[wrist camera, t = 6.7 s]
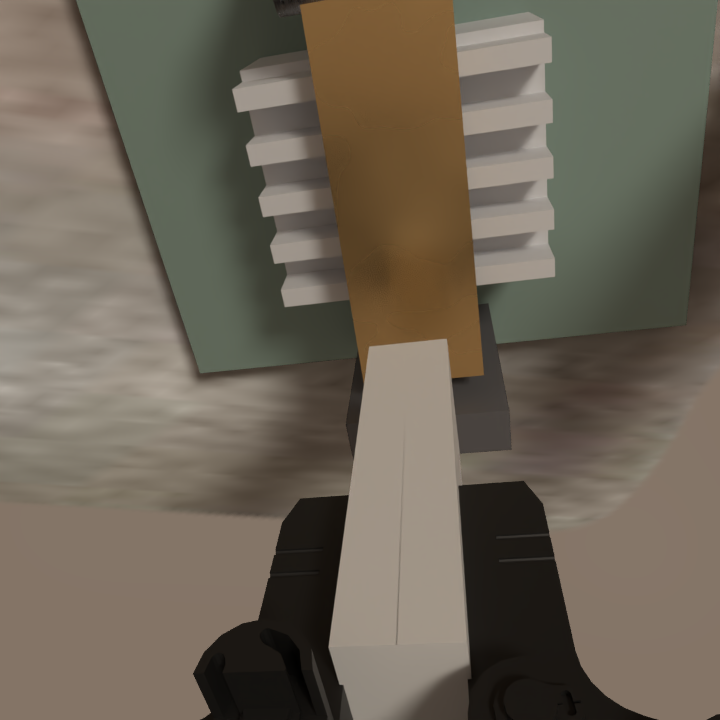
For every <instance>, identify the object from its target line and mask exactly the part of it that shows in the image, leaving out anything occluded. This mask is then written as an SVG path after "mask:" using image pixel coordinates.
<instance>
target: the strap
mask: <svg viewBox="0 0 720 720" xmlns="http://www.w3.org/2000/svg"><path fill="white" fill-rule="evenodd" d="M273 2H274V5H275V9H276V11H277V14H278V15H279V17H280V18H282V17H287V16H293V15H299V14H302V20H303V26H304V32H305V38H306V44H307V50H308V56H309V62H310V68H311V74H312V80H313V86H314V91H315V97H316V103H317V109H318V115H319V121H320V127H321V133H322V139H323V145H324V151H325V157H326V163H327V169H328V175H329V180H330V186H331V192H332V198H333V204H334V210H335V216H336V222H337V228H338V234H339V240H340V246H341V252H342V258H343V264H344V269H345V275H346V281H347V287H348V293H349V299H350V305H351V311H352V317H353V323H354V329H355V335H356V341H357V347H358V352H359V358H360V364H361V370H362V376H363V382H364V381H365V374H366V366H367V359H368V351H369V347H370V346H380V345H390V344H399V343H409V342H419V341H428V340H438V339H447V344H448V352H449V361H450V370H451V378H460V377H471V376H481V375H484V369H483V357H482V345H481V333H480V321H479V309H478V297H477V285H476V273H475V261H474V250H473V238H472V226H471V214H470V202H469V190H468V178H467V166H466V154H465V142H464V130H463V118H462V106H461V94H460V82H459V70H458V58H457V46H456V34H455V22H454V10H453V0H273Z"/></svg>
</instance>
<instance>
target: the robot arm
mask: <svg viewBox="0 0 720 720" xmlns="http://www.w3.org/2000/svg"><path fill="white" fill-rule="evenodd" d="M193 675H194V677H195V679H196V681H197V683H198V685H199V688H200V690H201V692H202V694H203V696H204V698H205V700H206V703H207V705H208V707H209V709H210V711H211V713H210V714H209V715H208V716H206V717H205V718H203V719H201V720H657V719H653V718H650V717H646V716H643V715H641V714H638V713H636V712H633V711H631V710H628V709H626V708H624V707H622V706H620V705H619V704H617V703H615V702H614V701H613V700H611V699H610V698H608V697H607V696H605V695H604V694H603V693H602V692H601V691H600V690H599V689H598V688H597V687H596V686H595V685H594V684H593V683H592V682H591V681H590V679H589V678H588V676H587V675H586V673H585V672H584V670H583V669H582V667H581V665H580V662H579V659H578V657H577V654H576V651H575V647H574V643H573V638H572V634H571V629H570V625H569V620H568V615H567V611H566V606H565V602H564V597H563V593H562V589H561V584H560V579H559V575H558V570H557V566H556V562H555V559H554V552H553V548H552V543H551V538H550V536H549V529H548V525H547V520H546V516H545V511H544V507H543V503H542V502H541V501H540V500H539V499H538V497H537V496H536V495H535V494H534V493H533V492H532V490H531V489H530V488H529V487H528V486H527V484H526V483H525V482H524V481H517V482H502V483H488V484H474V485H462V476H461V463H460V450H459V441H458V433H457V424H456V415H455V406H454V397H453V388H452V379H451V370H450V361H449V352H448V344H447V339H438V340H428V341H419V342H409V343H399V344H390V345H380V346H370V347H369V351H368V359H367V366H366V374H365V381H364V388H363V396H362V403H361V411H360V418H359V425H358V433H357V440H356V448H355V455H354V462H353V470H352V477H351V484H350V492H349V495H345V496H331V497H317V498H302V499H300V500H299V501H298V503H297V504H296V505H295V506H294V508H293V509H292V510H291V512H290V513H289V514H288V516H287V517H286V518H285V520H284V521H283V522H282V526H281V530H280V534H279V538H278V542H277V546H276V555H274V558H273V563H272V566H271V570H270V578H269V579H268V582H267V587H266V591H265V595H264V599H263V603H262V607H261V611H260V615H259V619H258V621H252V622H248V623H243V624H241V625H239V626H237V627H235V628H233V629H232V630H230V631H228V632H226V633H224V634H223V635H221V636H220V637H219V638H218V639H217V640H216V641H215V642H214V643H213V644H212V645H211V646H210V647H209V648H208V649H207V650H206V651H205V652H204V653H203V655H202V658H201V659H200V661H199V663H198V665H197V667H196V669H195V671H194V673H193ZM707 720H720V714H718V715H715V716H713V717H711V718H709V719H707Z"/></svg>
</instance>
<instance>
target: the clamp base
mask: <svg viewBox="0 0 720 720" xmlns="http://www.w3.org/2000/svg"><path fill="white" fill-rule="evenodd" d="M76 2H77V5H78V8H79V11H80V14H81V17H82V20H83V23H84V26H85V29H86V32H87V35H88V38H89V41H90V44H91V47H92V50H93V53H94V56H95V59H96V62H97V65H98V68H99V71H100V74H101V77H102V80H103V83H104V86H105V89H106V92H107V95H108V98H109V101H110V104H111V107H112V110H113V113H114V116H115V119H116V122H117V125H118V128H119V131H120V134H121V137H122V140H123V143H124V146H125V149H126V152H127V155H128V158H129V161H130V164H131V167H132V170H133V173H134V176H135V179H136V182H137V185H138V188H139V191H140V194H141V197H142V200H143V203H144V206H145V209H146V212H147V215H148V218H149V221H150V224H151V227H152V230H153V233H154V236H155V239H156V242H157V245H158V248H159V251H160V254H161V257H162V260H163V263H164V266H165V269H166V272H167V275H168V278H169V281H170V284H171V287H172V290H173V293H174V296H175V299H176V302H177V305H178V308H179V311H180V314H181V317H182V320H183V323H184V326H185V329H186V332H187V335H188V338H189V341H190V344H191V347H192V350H193V353H194V356H195V359H196V362H197V365H198V368H199V371H200V373H208V372H218V371H228V370H238V369H248V368H258V367H269V366H279V365H289V364H299V363H309V362H319V361H329V360H339V359H349V358H356V364H355V371H354V377H353V383H352V389H351V395H350V402H349V408H348V414H347V420H346V427H347V432H348V437H349V441H350V446H351V451H352V456H353V460H354V455H355V448H356V440H357V433H358V425H359V418H360V411H361V403H362V396H363V388H364V382H363V376H362V370H361V364H360V358H359V352H358V347H357V341H356V335H355V329H354V323H353V317H352V311H351V305H350V299H349V293H348V287H347V281H346V275H345V269H344V264H343V258H342V252H341V246H340V240H339V234H338V228H337V222H336V216H335V210H334V204H333V198H332V192H331V186H330V180H329V175H328V169H327V163H326V157H325V151H324V145H323V139H322V133H321V127H320V121H319V115H318V109H317V103H316V97H315V91H314V86H313V80H312V74H311V68H310V62H309V56H308V50H307V44H306V38H305V32H304V26H303V20H302V14H299V15H293V16H287V17H282V18H280V17H279V15H278V14H277V11H276V9H275V5H274V2H273V0H76ZM717 2H718V0H453V10H454V22H455V34H456V46H457V58H458V70H459V82H460V94H461V106H462V118H463V130H464V142H465V154H466V166H467V178H468V190H469V202H470V214H471V226H472V238H473V250H474V261H475V273H476V285H477V297H478V309H479V321H480V333H481V345H482V357H483V369H484V375H481V376H471V377H460V378H451V379H452V388H453V397H454V406H455V415H456V424H457V433H458V441H459V450H460V453H473V452H487V451H500V450H511V433H510V415H509V407H508V402H507V396H506V391H505V386H504V381H503V376H502V371H501V366H500V360H499V355H498V350H497V345H496V344H501V343H511V342H521V341H531V340H541V339H551V338H561V337H571V336H581V335H591V334H601V333H612V332H622V331H632V330H642V329H652V328H662V327H672V326H682V325H686V321H687V311H688V300H689V290H690V280H691V270H692V259H693V249H694V239H695V229H696V218H697V208H698V198H699V187H700V177H701V167H702V157H703V146H704V136H705V126H706V115H707V105H708V95H709V85H710V74H711V64H712V54H713V44H714V33H715V23H716V13H717Z"/></svg>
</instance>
